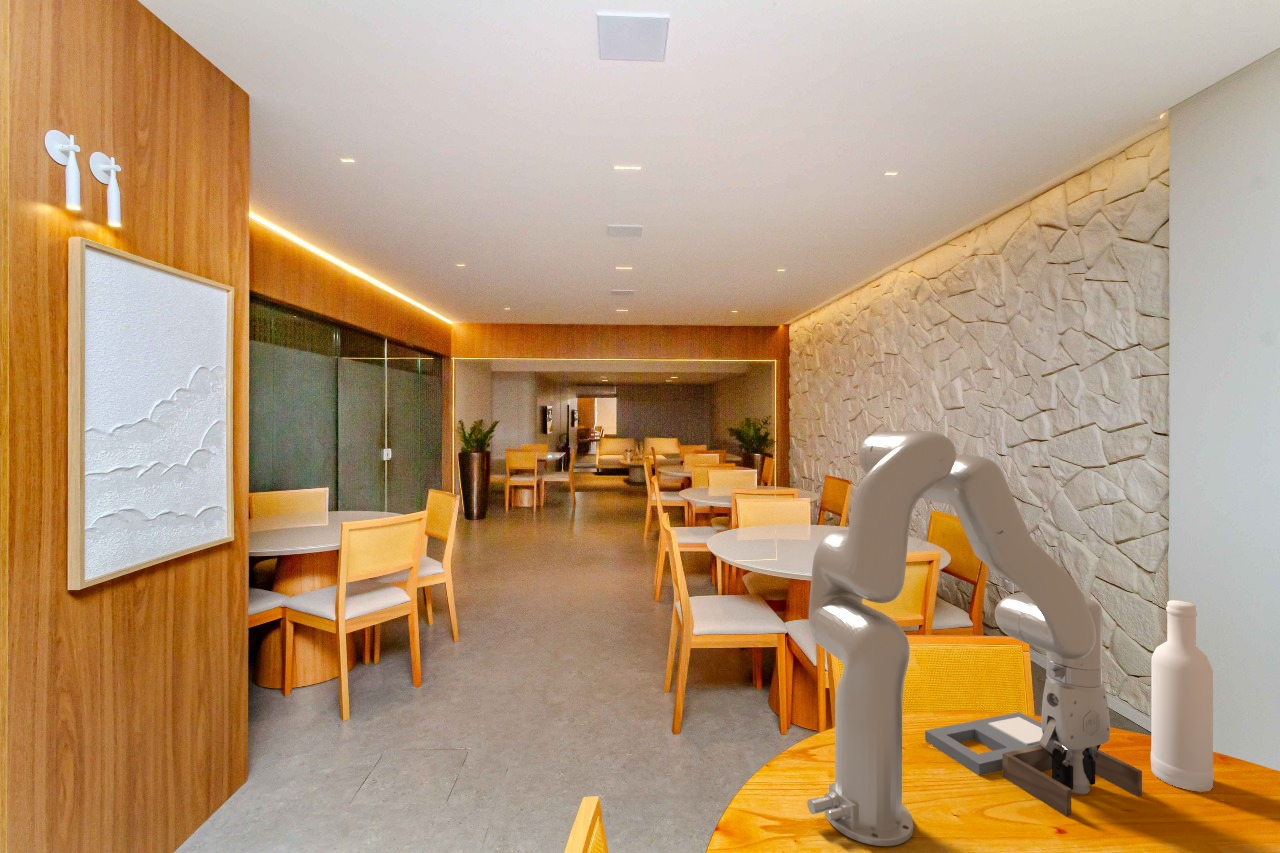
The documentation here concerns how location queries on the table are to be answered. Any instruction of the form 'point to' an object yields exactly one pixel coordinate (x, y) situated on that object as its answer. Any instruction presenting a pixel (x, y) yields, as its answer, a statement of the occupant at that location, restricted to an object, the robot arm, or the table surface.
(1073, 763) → the rook chess piece
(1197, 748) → the bottle
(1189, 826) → the table surface
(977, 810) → the table surface
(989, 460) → the robot arm
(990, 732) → the hole board
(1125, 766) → the walnut pen
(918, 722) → the table surface
